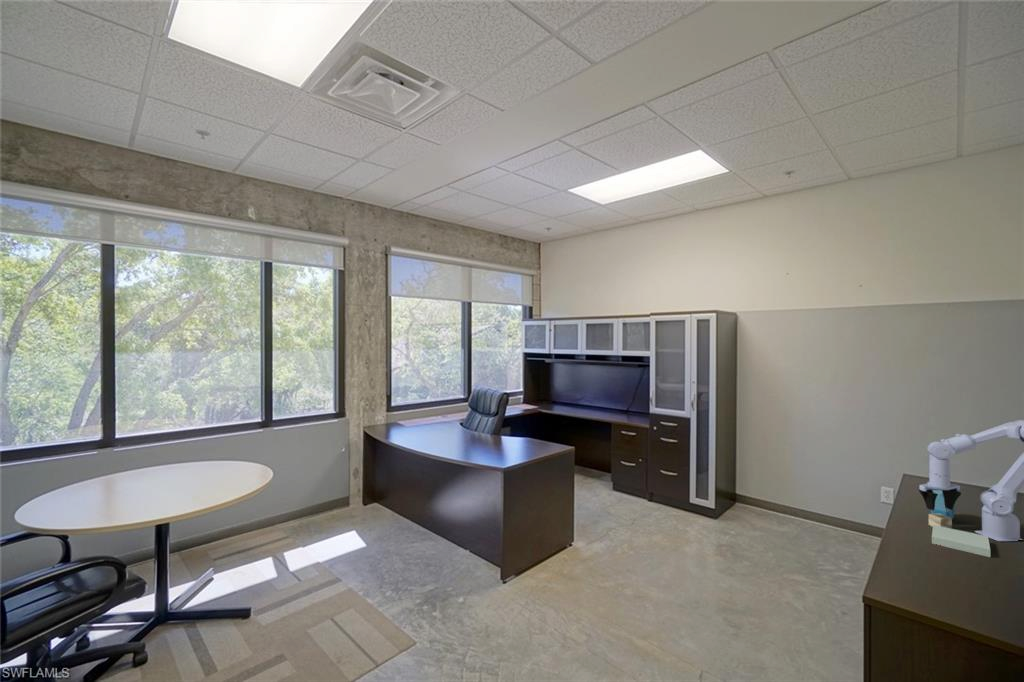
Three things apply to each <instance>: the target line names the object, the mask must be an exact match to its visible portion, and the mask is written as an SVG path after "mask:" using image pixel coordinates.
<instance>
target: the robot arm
mask: <svg viewBox="0 0 1024 682" xmlns="http://www.w3.org/2000/svg"><path fill="white" fill-rule="evenodd" d="M1002 438H1011V439H1018V440H1020V442H1021V443H1022V445H1023V446H1024V419H1018V420H1014V421H1009V422H1006V423H1003V424H1000V425H997V426H995V427H992V428H989V429H986V430H983V431H980V432H978V433H975V434H972V435H971V434H969V435H968V434H964V433H963V434H960V433H956V434H955V436H953V437H950V438H947V439H944V438H942V439H940V441H932V442H931V443H929V444H928V446H927V448H926V449H927V451H928V453H929V463H928V465H929V466H928V468H929V470H928V471H929V472H928V473H929V475H928V476H929V479H928V481H927V483H923V484H919V488H918V492H919V493H920V494H921V496H922V499H923V501H924V502H925V506H926V509H927V510H930V511H931V510H934V508H935V500H936V497H937V495H938V494H936V493H934V492H932V491H934V490H942V492H943V495H944V503H945V508H948V509H950V510H952V509H953V507H954V508H955V504H956V502H957V500H958V499H959V498H960V497H961V495H962V492H961V491H960V490H961V485H960V484H959V485H958V484H956V483H951V462H950V460H951V459H950V458H952V457H953V455H958V454H960V453H965V452H968V451H971V450H974V449H976V448H977V446H978V444H983V443H986V442H990V441H994V440H998V439H1002ZM1023 488H1024V451H1023V452H1022V453H1021V454H1020V456H1019V457H1018V458H1017V459H1016V461H1015V462H1014V463H1013V464H1012V466H1011V467H1010V468H1009V469H1008V470H1007V472H1006V473H1005V474H1004V475H1003V477H1002V478H1001V479H1000V480H999V481H998V483H996V484H995V485H992V486H991V487H990V488H989V489H988V490H985V491H982V492H981V493H980V495H979V500H980V502H981V503H982V504H983V506H982V507H981V530H974V533H975V534H979V535H984V536H988V539H992V540H995V541H997V542H1019V541H1018V540H1023V541H1024V539H1023V538H1021V522H1020V519H1019V517H1017V516H1016V515H1015V514H1014V513H1012V512H1014V505H1015V504H1016V502H1017V494H1018V493H1019V492H1020V491H1021V490H1022V489H1023Z"/></svg>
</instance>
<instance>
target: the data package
mask: <svg viewBox="0 0 1024 682" xmlns="http://www.w3.org/2000/svg"><path fill="white" fill-rule="evenodd" d="M932 492H934V493H936V494H938V495H937V497H936V500H935V508H934V510H930V514H942V515H945V516H947V517H950V518H952V520H954V518H955V506H954V507H953V509H952V510H950V509H948V508H945V503H944V495H943V492H942V490H934V491H932Z"/></svg>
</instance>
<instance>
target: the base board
mask: <svg viewBox="0 0 1024 682" xmlns="http://www.w3.org/2000/svg"><path fill="white" fill-rule="evenodd" d="M989 540H990V538H989V537H988V536H984V535H981V534H978V533H975V532H974V533H973V532H970V531H969V532H968V531H964V530H960V529H954V528H952V529H951V528H946V527H941V526H936V525H933V527H932V533H931V544H933V545H936V544H937V546H940V545H941V547H945V548H950V549H953V550H958V551H961V552H966V553H970V554H975V555H979V556H983V557H988V558H991V546H990V541H989Z"/></svg>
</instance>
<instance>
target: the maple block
mask: <svg viewBox="0 0 1024 682" xmlns="http://www.w3.org/2000/svg"><path fill="white" fill-rule="evenodd" d="M952 520H953V519H952V518H950V517H947V516H945V515H942V514H931V513H928V526H929V525H930V527H932V528H933V525H936V526H941V527H946V528H951V529H953V522H952Z"/></svg>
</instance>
